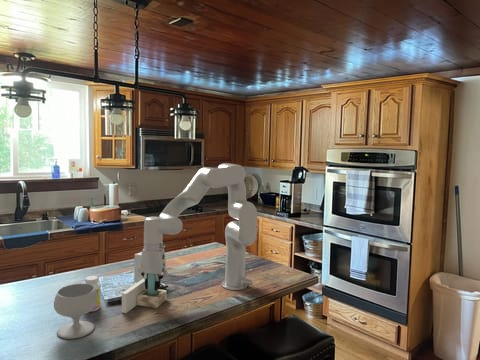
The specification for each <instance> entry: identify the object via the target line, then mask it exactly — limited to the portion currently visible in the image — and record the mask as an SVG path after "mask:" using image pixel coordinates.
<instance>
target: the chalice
mask: <svg viewBox="0 0 480 360" xmlns="http://www.w3.org/2000/svg"><path fill="white" fill-rule="evenodd" d="M97 300H98V298H97V293H96V290H95V289H94V287H93V286H92V285H89V284H85V283H75V284H73V283H72V284H68V285H66V286H63V287H61V288H60V289H58V291H57V293H56V295H55V296H54V300H53V309H54V311H55V312H56V313H57V314H58V315H59V316H62V317H67V318H70V319H72V322H69V323H66V324H64V325H62V326H60V327H59V329H58V330H56V331H57V332H56V335H57V336H58V337H60V338H62V339H64V340H65V339H67V340H68V339H69V340H73V339H74V340H75V339H79V338H82V337H85V336H88V335H89V334H91V333H93V331H94V330H95V328H96V327H95V326H96V325H95V324H94V323H92V322H91V321H87V320H80V319H81V317H83V316H84V315H86V314H88V313H90V311H91V310H93V308H94V307H95V306H96V304H97Z"/></svg>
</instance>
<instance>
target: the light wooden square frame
mask: <svg viewBox="0 0 480 360" xmlns="http://www.w3.org/2000/svg"><path fill="white" fill-rule="evenodd" d="M167 293H168V290H165V289H160V288H159V289H158V290H157V296H156V297H153V296H148V289H145V290H144V291H143V292H141V293H140V294H139V295H137V305H136V306H141V307H148V308H153V309H158V308H159V307H160V306H161V305H162V304H163V303H164V302H165V301H166V300H167V296H168V295H167Z"/></svg>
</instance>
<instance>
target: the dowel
mask: <svg viewBox="0 0 480 360" xmlns="http://www.w3.org/2000/svg"><path fill="white" fill-rule="evenodd" d="M155 281H156V276H155V274H152V273H148V296H153V297H156V296H157V291H155Z"/></svg>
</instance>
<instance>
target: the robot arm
mask: <svg viewBox="0 0 480 360" xmlns="http://www.w3.org/2000/svg"><path fill="white" fill-rule="evenodd" d="M246 173H247V172H246V169H245V168H244V167H243V166H242V165H241V164H236V163H228V162H224V163H221V164H219V165H218V166H217V167H207V166H204V167H202V168H200V169H199V170H198V171H197V172H196V174H195V175H194V176H193V177H192V179H191V180H190V182H189V183H187V186H185V188H184V189H183V190H182V192H180V193H179V194H177V196H175V198H173V199H172V200H170V202H168V204H166V206H165V207H164V209H162V211H161V212H160V214H159V216H148V217H146V218H145V219H144V223H143V248H142V250H141V252H142V254H141V262H140V267H139V269H138V272H139V273H140V274H141V275H142V276H143V278H144V280H145V289H148V273H152V274H155V276H156V281H155V291H157V290H158V289H160V288H161V283H162V282H161V281H162V279H163V278H165V277H167V276H168V275H169V272H168V270H167V260H166V259H167V258H166V252H165V248H166V244H164V243H163V239H164V238H163V236H164V235H169V236H170V235H173V236H174V235H177V234H179V233H180V232H182V230H183V227H184V226H183V221H182V220H181V219H180V218H179V217H178V216H179V215H180V214H181V213H182V212H183V211H185V210H186V209H188V208H191V207H193V206H195V205H198V204H199V203H200V201H201V200H202V199H203V198H204V196H205V195H206V193H207V192H208V190H209V189H210V188H212V189H218V188H219V189H220V188H224V187H227V191H228V192H227V194H228V200H227V211H228V212H227V213H228V215H229V216H230V217H231V218H233V219H235V220H232V221H230V222H228V223H227V225H225V228H224V238H225V266H224V269H225V270H224V271H225V272H224V279H223V280H222V281H221V286H222V287H223V288H224V289H226V290H230V291H241V290H244V289H246V288H247V287H248V285H249V286H253V285H254V281H253V280H252V278H251V279H250V278H247V275H245V274H246V253H247V252H246V251H247V250H246V247H248V246H252V245H253V244H254V242H255V241H256V238H257V235H258V210H257V208H256V206H255V205H254V203H253V202H250V201H247V188H246V183H245V179H246V175H247V174H246Z"/></svg>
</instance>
